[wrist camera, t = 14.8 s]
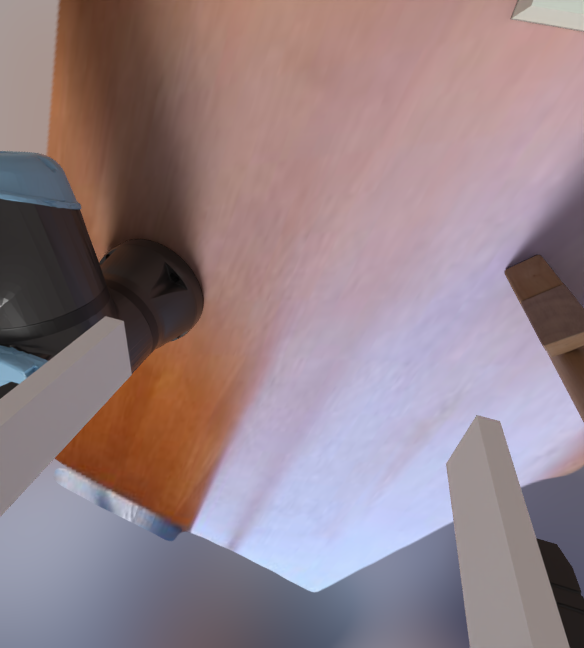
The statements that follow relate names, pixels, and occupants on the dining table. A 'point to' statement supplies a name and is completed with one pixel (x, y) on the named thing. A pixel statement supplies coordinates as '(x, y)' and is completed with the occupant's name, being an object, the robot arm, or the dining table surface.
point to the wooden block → (553, 321)
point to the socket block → (551, 13)
